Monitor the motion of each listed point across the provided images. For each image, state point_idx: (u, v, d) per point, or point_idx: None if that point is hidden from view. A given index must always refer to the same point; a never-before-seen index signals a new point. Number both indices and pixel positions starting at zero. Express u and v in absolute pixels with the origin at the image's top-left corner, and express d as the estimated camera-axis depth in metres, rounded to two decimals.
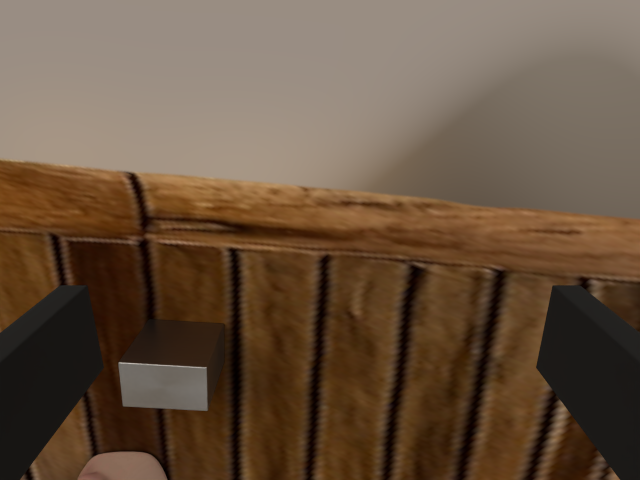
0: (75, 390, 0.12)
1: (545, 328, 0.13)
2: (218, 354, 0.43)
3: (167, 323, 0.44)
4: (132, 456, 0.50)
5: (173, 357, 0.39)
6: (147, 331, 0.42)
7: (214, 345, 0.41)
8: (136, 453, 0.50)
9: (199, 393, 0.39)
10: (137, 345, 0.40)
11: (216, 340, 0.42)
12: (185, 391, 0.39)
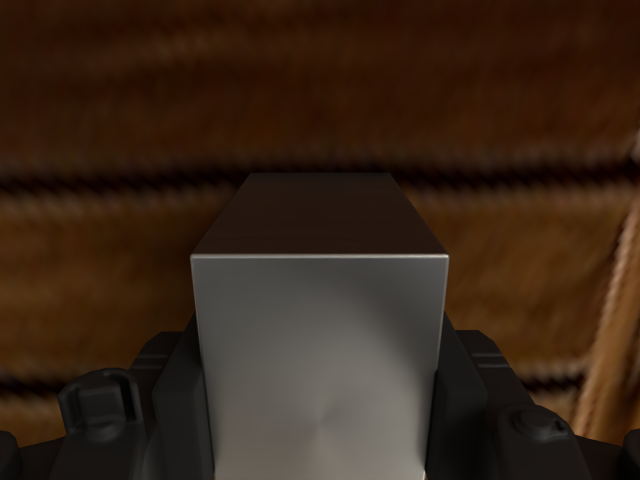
0: None
1: None
2: None
3: None
4: None
5: None
6: None
7: None
8: None
9: None
10: None
11: None
12: None
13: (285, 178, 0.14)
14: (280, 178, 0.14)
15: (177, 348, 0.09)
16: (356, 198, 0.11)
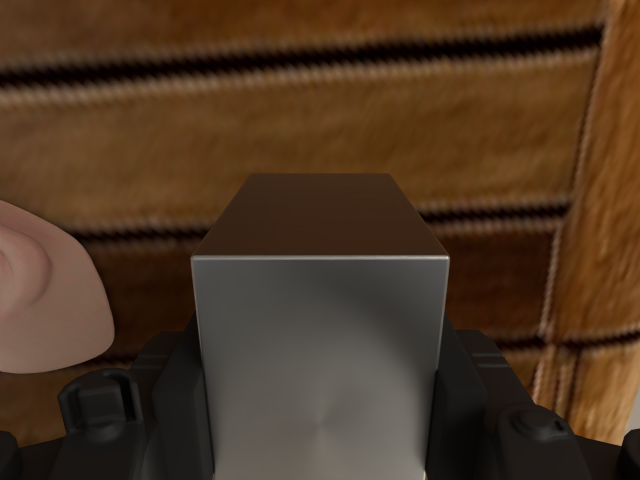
0: None
1: None
2: None
3: None
4: (103, 318, 0.25)
5: None
6: None
7: None
8: (110, 322, 0.25)
9: None
10: None
11: None
12: None
13: (285, 179, 0.14)
14: (280, 179, 0.14)
15: (178, 348, 0.09)
16: (356, 199, 0.11)
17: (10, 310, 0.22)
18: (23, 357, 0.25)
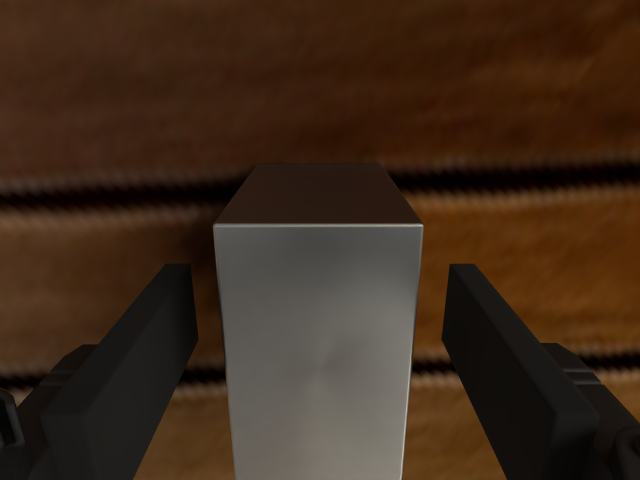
0: (183, 356, 0.13)
1: (446, 303, 0.14)
2: None
3: None
4: None
5: None
6: None
7: None
8: None
9: (304, 464, 0.12)
10: None
11: None
12: (308, 428, 0.12)
13: (288, 168, 0.16)
14: (284, 168, 0.16)
15: (84, 365, 0.09)
16: (350, 183, 0.13)
17: None
18: None
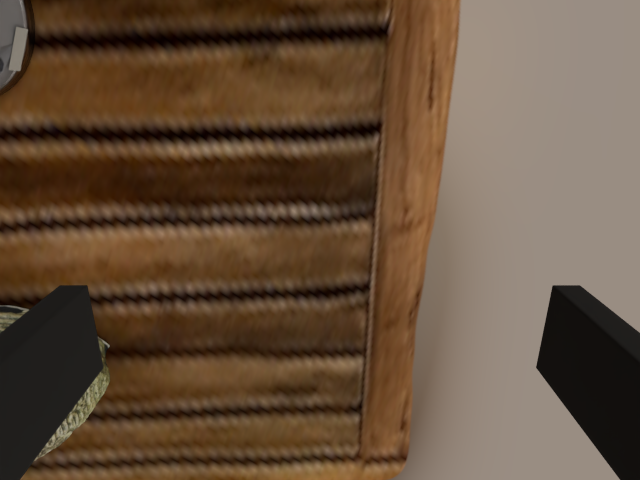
0: (75, 390, 0.12)
1: (545, 328, 0.13)
2: None
3: None
4: None
5: None
6: None
7: None
8: None
9: None
10: None
11: None
12: None
13: None
14: None
15: None
16: None
17: None
18: None
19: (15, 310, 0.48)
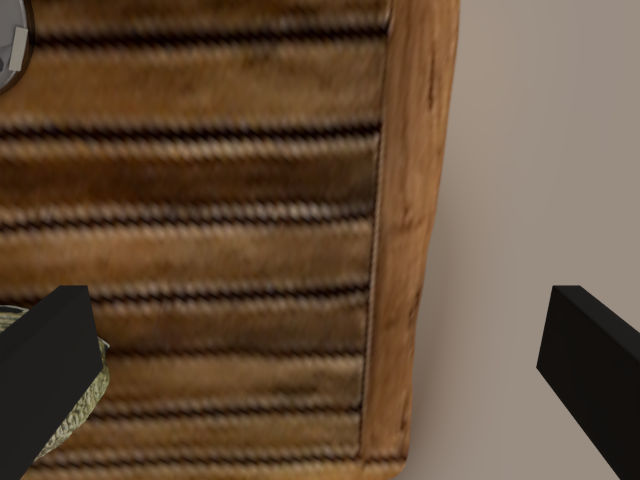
0: (75, 390, 0.12)
1: (545, 328, 0.13)
2: None
3: None
4: None
5: None
6: None
7: None
8: None
9: None
10: None
11: None
12: None
13: None
14: None
15: None
16: None
17: None
18: None
19: (15, 310, 0.48)
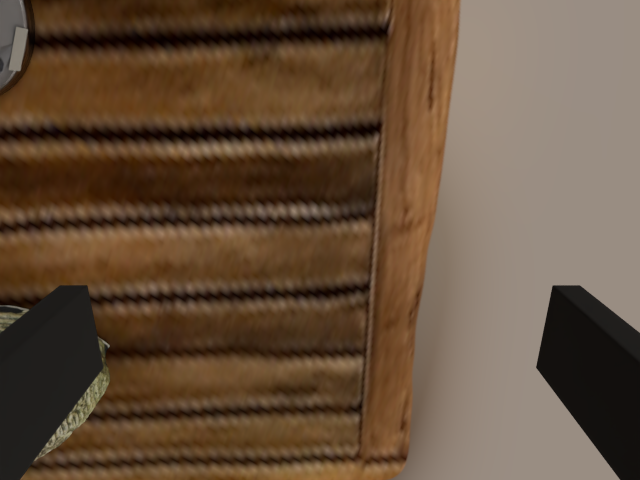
0: (75, 390, 0.12)
1: (545, 328, 0.13)
2: None
3: None
4: None
5: None
6: None
7: None
8: None
9: None
10: None
11: None
12: None
13: None
14: None
15: None
16: None
17: None
18: None
19: (15, 310, 0.48)
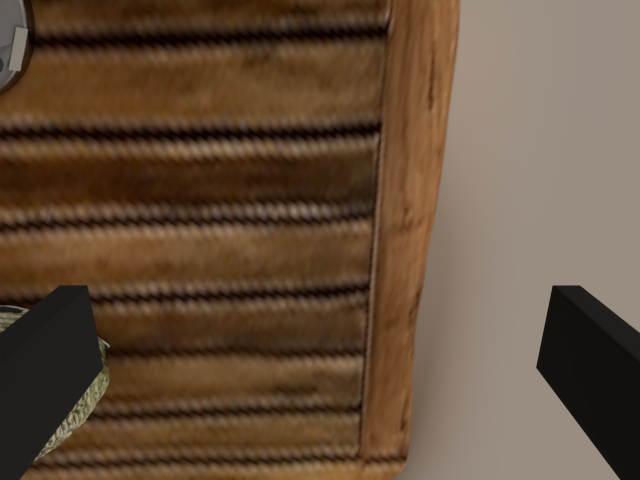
0: (75, 390, 0.12)
1: (545, 328, 0.13)
2: None
3: None
4: None
5: None
6: None
7: None
8: None
9: None
10: None
11: None
12: None
13: None
14: None
15: None
16: None
17: None
18: None
19: (15, 310, 0.48)
